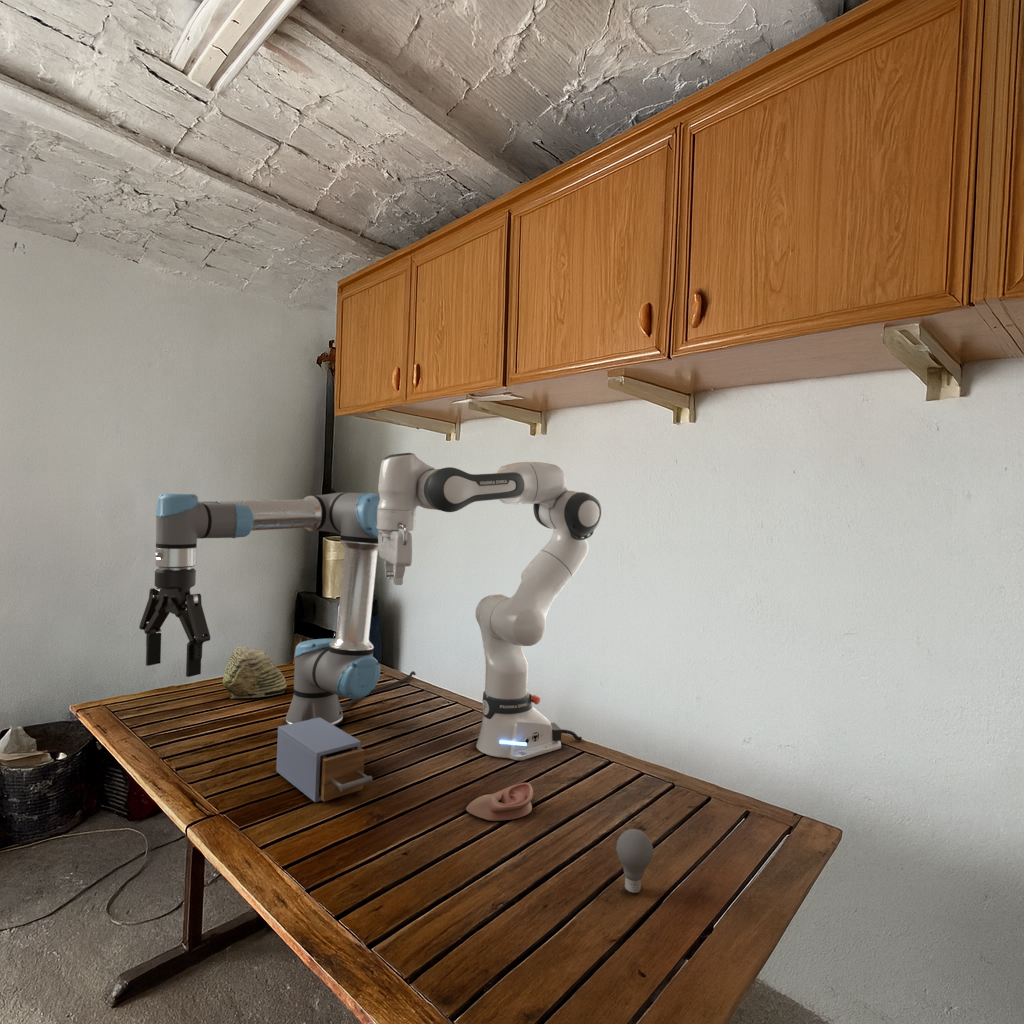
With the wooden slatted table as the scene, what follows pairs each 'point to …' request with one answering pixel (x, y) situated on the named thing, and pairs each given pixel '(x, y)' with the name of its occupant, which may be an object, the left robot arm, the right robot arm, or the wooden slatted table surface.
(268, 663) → the fossil
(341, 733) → the cabinet
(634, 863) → the light bulb
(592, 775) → the wooden slatted table surface
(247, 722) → the wooden slatted table surface
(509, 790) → the anatomical model
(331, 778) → the drawer
